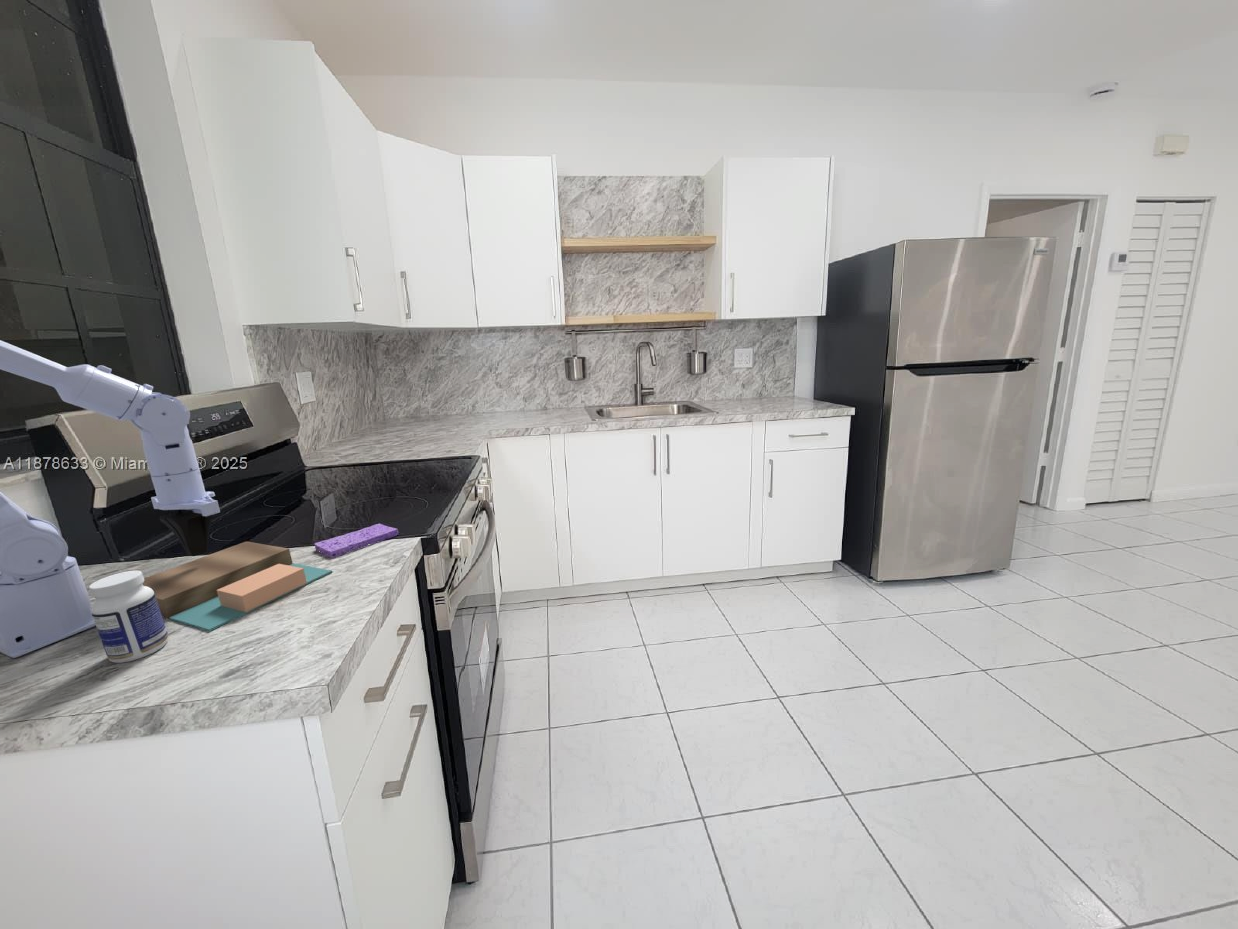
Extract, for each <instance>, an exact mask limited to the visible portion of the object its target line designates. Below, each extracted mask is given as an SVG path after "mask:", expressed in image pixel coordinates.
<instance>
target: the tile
mask: <svg viewBox="0 0 1238 929" xmlns="http://www.w3.org/2000/svg"><path fill="white" fill-rule="evenodd" d="M306 583H307V581H306V577H305V573H304V568H299V567H294V566H288V565H283V564H277V565H275V566H272V567H270V568H267V569H265V570H263V571H260V572H258V573H256V574H253V575H251V576H249V577H246V578H244V579H241V580H239V581H237V582H234V583H232V584H230V585H227V586H225V587H223V588H220V589H218V590H217V594H218V597H219V601H220V604H221V606H224V607H228V608H232V609H236V610H240V611H243V612H248V611H250V610H252V609H254V608H256V607H258V606H260V605H262V604H264V603H266V602H269V601H271V600H273V599H275V598H277V597H279V596H281V595H283V594H285V593H287V592H289V591H291V590H294V589H296V588H298V587H300V586H302V585H304V584H306Z"/></svg>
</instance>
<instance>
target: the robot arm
mask: <svg viewBox="0 0 1238 929" xmlns="http://www.w3.org/2000/svg"><path fill="white" fill-rule="evenodd" d="M0 370H1V371H4V372H8V373H10V374H13V375H16V376H18V377H23V378H26V379H28V380H31V381H35V382H38V383H40V384H43V385H46V386H50V387H52V388H54V389H55V390H56V392H57V394H58V396H59V397H60V399H61V400H62V401H63V402H65V403H67V404H70V405H73V406H75V407H79V408H82V409H85V410H88V411H90V412H93V413H97V414H100V415H103V416H105V417H109V418H112V419H114V420H117V421H121V422H124V421H130V422H131V423H132V424H133V425H134V426H135V427H136V428H138V429H139V430H138V432H139V434H140V437H141V441H142V450H143V453H144V458H145V461H146V464H147V467H148V470H149V475H150V478H151V482H152V484H153V485H152V486H153V488H154V490H155V491H154V492H155V494H156V496H151V497H150V499H151V500H150V501H151V503H152V507H153V509H154V510H161V511H168V510H169V511H170V512H169V513H167V514H165V515H161V516H159V521H160V522H161V523H162V524H164V525H165V526H166V527H167V528H169V530H170V531H171V532H172V533H173V534H174V535H175V537H176V538H177V540H178V542H179V543H180V545H181V546H182V548H183V549H184V551H185V552H186V554H187V555H188V556H190V557H197V556H198V555H201V554H204V553H207V552H208V550H209V532H210V526H211V522H212V520H213V517H214V515H216V514H218V513H221V510H220V506H219V502H218V500H215V499H214V497H216V494H215V492H214V491H206V489H205V484H204V482H203V478H202V474H201V470H200V466H199V463H198V459H197V454H196V450H195V447H194V444H193V441H192V440H193V439H191V437H190V431H189V429H188V424H189V423H190V419H191V412H190V410H188V409H187V407H186V405H185V404H183V402H182V401H181V400H180V399H179V398H177V397H175V396H173V395H170V394H164V393H163V394H162V393H161V392H153V390H154V386H153V385H150V384H149V383H148V384H147V383H143V385H141V384H138V383H136V382H133V381H131V380H128V379H126V378H124V377H120V376H118V375H115V374H113V373H112V368H110V367H107V366H105V365H103V364H102V365H101V364H100V365H97V367H95V366H92V365H91V364H78V365H74V366H69V367H68V366H65V365H62V364H60V363H58V362H55V361H52V360H50V359H47V358H45V357H42V356H40V355H38V354H35V353H33V352H31V351H28V350H26V349H23V348H20V347H18V346H15V345H13V344H10V343H9V342H5V341H4V340H0ZM68 552H69V546H68V543H67V541H66V540H65V539H64V537H62V535H61V532H60V530H59V528H58V527H57V526H55V524H53V523H52V522H50V521H48V520H46V519H45V520H44V519H42V518H37V517H35V516H32V515H31V514H29V513H28V512H26V511H25V510H24V509H23V508H22V507H21V506H20V505H18V504H17V503H15V502H14V501H12V500H11V499H10V498H8V497H7V496H6V495H5V494H4V493H3V492H1V491H0V653H1V654H4V655H6V656H8V657H10V658H13V659H15V658H18V657H22V656H23V655H26V654H29V653H31V652H33V651H36V650H38V649H40V648H43V647H46V646H48V645H51V644H53V643H56V642H58V641H61V640H63V639H66V638H68V637H70V636H74V635H76V634H78V633H80V632H81V633H82V632H84V631H86V630H88V629H91V628H93V627H96V625H95V622H94V619H93V617H92V614H91V610H90V609H91V606H92V604H93V603H92V600H91V598H90V596H89V593H88V590H87V588H86V584H85V581H84V579H83V576H82V572H81V569H80V568H79V565H78V562H77V559H76V557H73V556H70V555H69V556H68V554H69V553H68Z"/></svg>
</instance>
